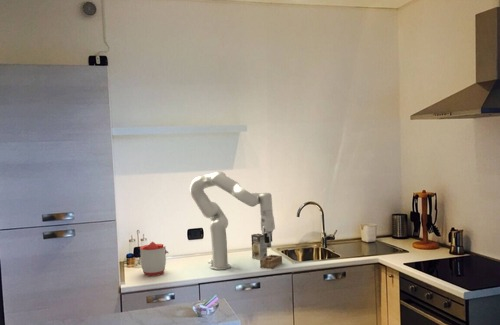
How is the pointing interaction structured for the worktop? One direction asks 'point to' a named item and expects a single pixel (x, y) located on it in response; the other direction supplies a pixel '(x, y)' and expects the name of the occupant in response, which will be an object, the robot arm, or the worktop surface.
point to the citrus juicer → (153, 259)
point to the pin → (269, 240)
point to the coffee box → (258, 247)
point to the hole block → (271, 261)
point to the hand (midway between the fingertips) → (268, 241)
